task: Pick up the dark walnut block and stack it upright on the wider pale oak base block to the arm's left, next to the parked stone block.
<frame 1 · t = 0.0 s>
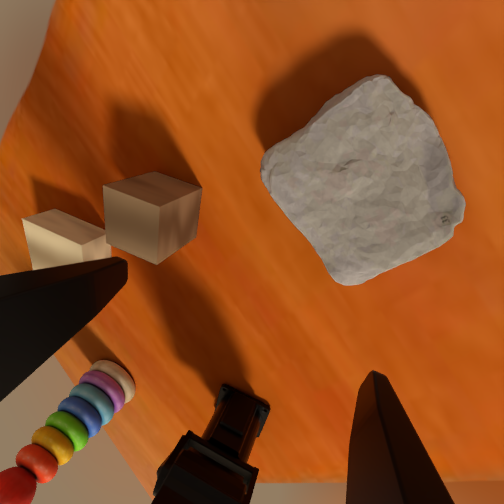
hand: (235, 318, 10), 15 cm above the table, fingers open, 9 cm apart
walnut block: (176, 204, 27), on the table
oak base: (86, 248, 34), on the table
stone block: (363, 180, 20), on the table
stacking toy: (118, 375, 44), on the table
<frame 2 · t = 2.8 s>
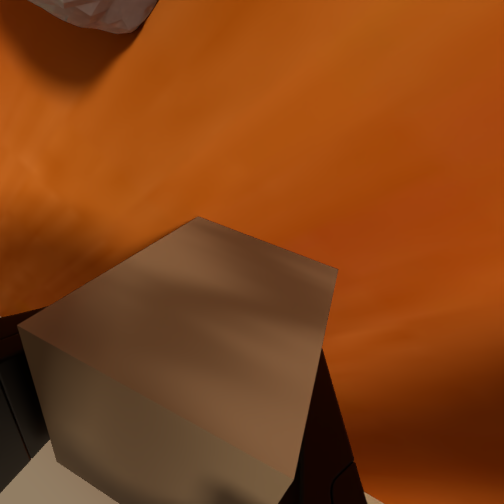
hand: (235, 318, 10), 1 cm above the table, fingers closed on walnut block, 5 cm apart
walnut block: (248, 298, 11), on the table, touching gripper
when the fingers open (6 cm above the table, at t = 7.0 s): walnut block drops 1 cm, point 4 cm above the table.
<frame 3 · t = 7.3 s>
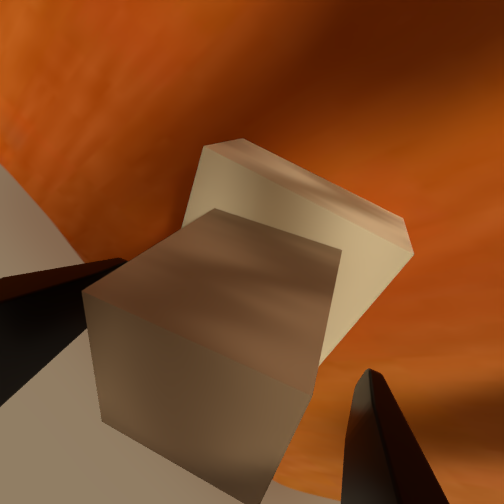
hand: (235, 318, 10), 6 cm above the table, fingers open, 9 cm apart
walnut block: (261, 281, 12), point 4 cm above the table
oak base: (284, 244, 15), on the table
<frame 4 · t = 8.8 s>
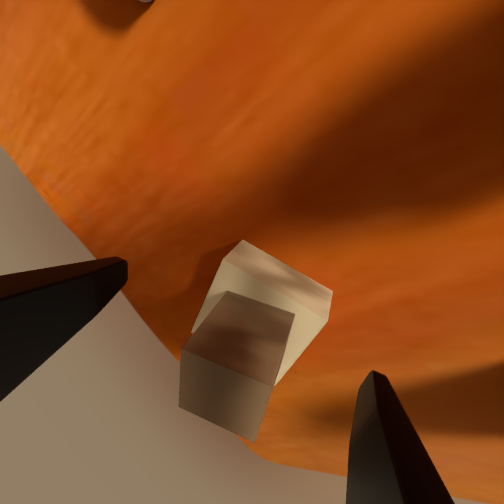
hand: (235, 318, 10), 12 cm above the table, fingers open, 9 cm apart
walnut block: (255, 328, 21), point 4 cm above the table, touching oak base
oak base: (266, 297, 24), on the table, touching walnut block
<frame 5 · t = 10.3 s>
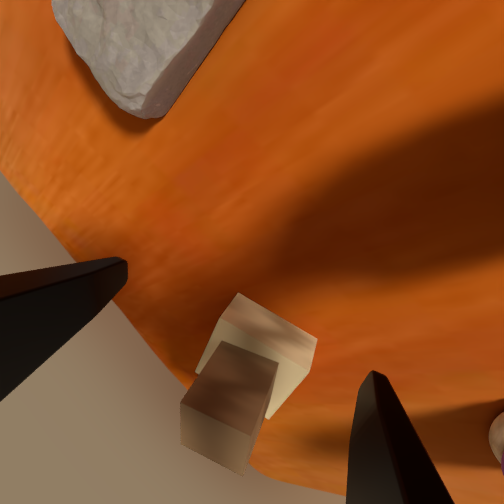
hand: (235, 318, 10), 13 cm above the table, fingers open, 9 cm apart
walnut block: (246, 371, 24), point 4 cm above the table, touching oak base
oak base: (261, 340, 27), on the table, touching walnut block
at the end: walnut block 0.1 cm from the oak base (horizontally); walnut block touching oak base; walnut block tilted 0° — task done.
